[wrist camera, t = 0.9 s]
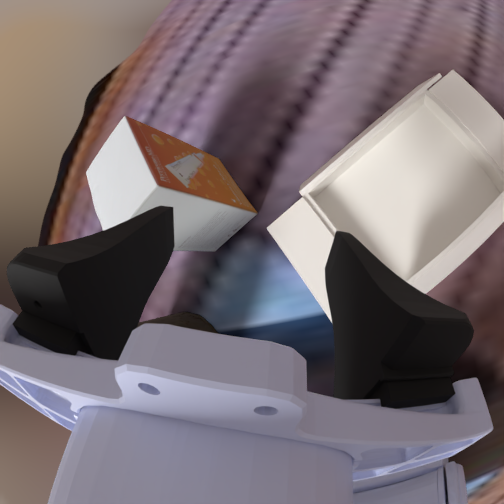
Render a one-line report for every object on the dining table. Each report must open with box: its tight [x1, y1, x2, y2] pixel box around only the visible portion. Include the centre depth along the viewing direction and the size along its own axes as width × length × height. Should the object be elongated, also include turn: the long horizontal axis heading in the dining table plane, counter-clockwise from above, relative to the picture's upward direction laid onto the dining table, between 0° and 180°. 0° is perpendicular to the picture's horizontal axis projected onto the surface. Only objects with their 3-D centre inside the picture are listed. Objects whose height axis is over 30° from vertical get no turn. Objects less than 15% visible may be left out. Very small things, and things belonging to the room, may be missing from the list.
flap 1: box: [299, 73, 442, 195], centre depth 17 cm, size 4×14×1 cm
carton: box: [267, 70, 504, 322], centre depth 19 cm, size 12×23×2 cm, turn 128°
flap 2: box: [406, 191, 504, 294], centre depth 14 cm, size 4×14×1 cm
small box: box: [86, 116, 257, 251], centre depth 23 cm, size 8×6×13 cm
